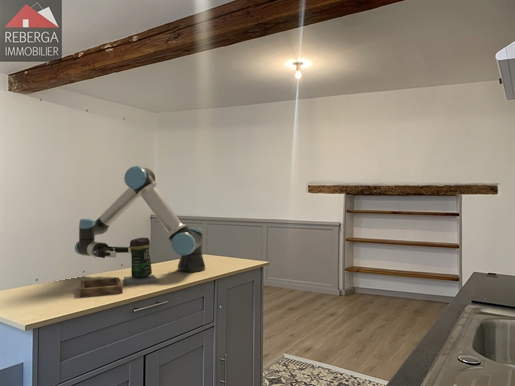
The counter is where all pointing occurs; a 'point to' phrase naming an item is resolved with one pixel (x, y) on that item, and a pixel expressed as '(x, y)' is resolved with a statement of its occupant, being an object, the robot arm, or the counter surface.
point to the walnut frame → (100, 290)
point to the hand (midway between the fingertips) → (126, 252)
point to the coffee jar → (140, 257)
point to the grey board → (140, 280)
